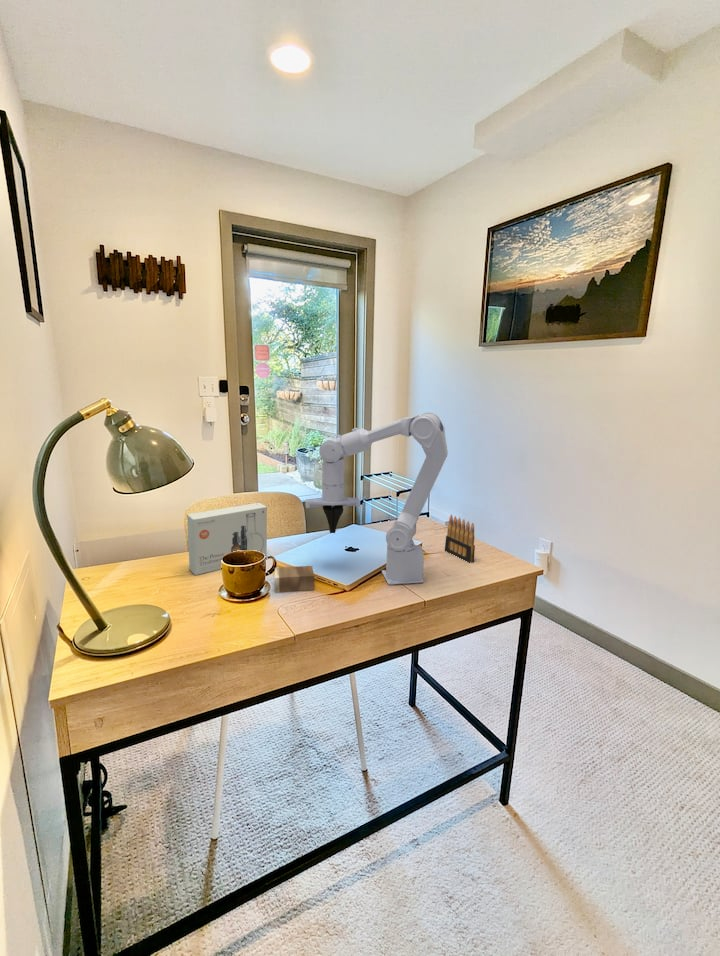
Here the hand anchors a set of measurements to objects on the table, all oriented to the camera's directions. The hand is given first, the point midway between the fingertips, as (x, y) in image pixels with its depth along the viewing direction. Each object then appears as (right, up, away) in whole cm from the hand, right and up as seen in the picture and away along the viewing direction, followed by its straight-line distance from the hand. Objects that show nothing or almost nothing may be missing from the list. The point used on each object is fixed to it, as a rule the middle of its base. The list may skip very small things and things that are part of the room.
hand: (332, 531), depth 121 cm
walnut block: (-4, -11, -9) cm, 14 cm away
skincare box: (-29, -10, +3) cm, 31 cm away
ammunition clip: (+37, -9, +13) cm, 41 cm away
